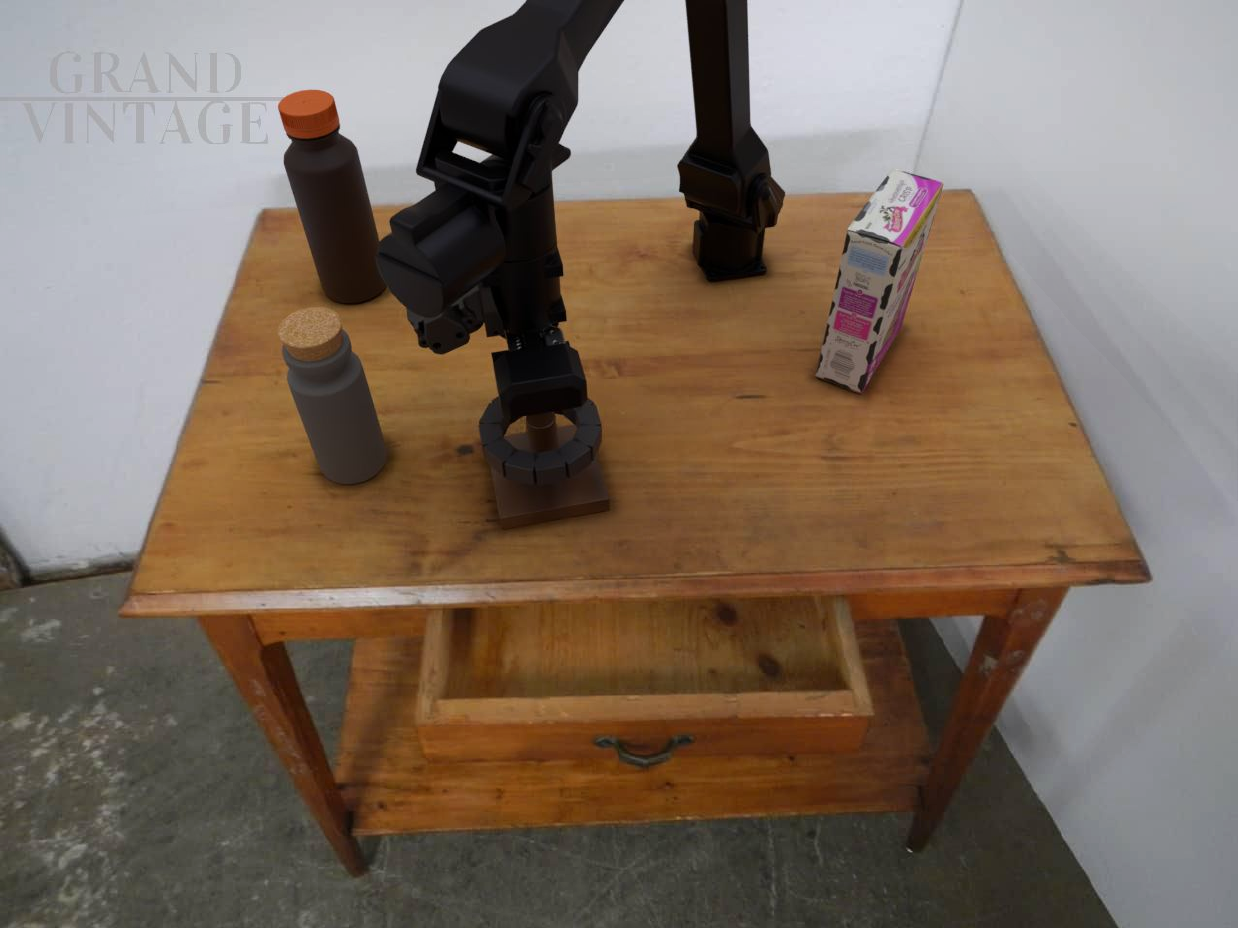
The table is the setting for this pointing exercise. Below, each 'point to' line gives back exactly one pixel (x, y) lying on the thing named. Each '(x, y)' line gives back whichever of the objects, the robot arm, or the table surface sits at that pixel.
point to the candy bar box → (877, 277)
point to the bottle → (332, 396)
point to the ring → (542, 464)
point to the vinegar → (331, 197)
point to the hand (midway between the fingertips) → (533, 397)
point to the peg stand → (551, 499)
